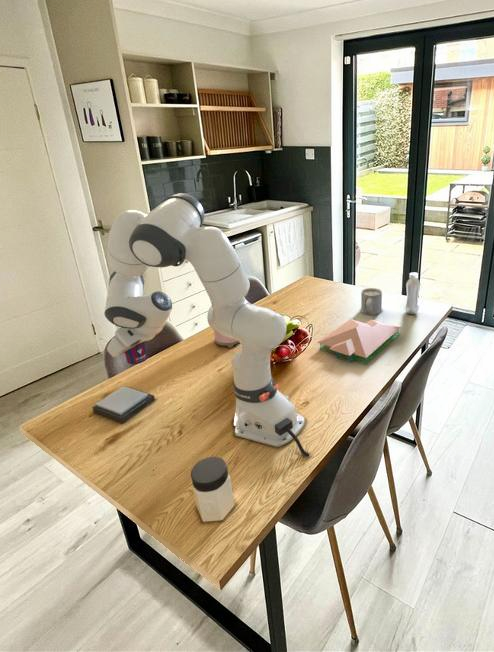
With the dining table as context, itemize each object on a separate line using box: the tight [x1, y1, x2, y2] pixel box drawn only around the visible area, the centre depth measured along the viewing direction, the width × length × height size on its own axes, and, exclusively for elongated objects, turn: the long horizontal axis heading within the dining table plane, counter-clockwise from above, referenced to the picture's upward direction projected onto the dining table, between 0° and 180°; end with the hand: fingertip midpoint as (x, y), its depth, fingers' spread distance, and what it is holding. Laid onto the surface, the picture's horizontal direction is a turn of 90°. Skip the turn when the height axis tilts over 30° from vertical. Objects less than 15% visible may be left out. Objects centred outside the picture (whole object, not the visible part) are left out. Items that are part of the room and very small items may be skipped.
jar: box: [190, 456, 236, 523], centre depth 93 cm, size 9×8×12 cm
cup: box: [124, 341, 149, 365], centre depth 138 cm, size 7×10×7 cm
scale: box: [91, 385, 156, 424], centre depth 133 cm, size 14×13×3 cm
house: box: [317, 318, 401, 365], centre depth 166 cm, size 23×33×8 cm
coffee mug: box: [360, 287, 383, 315], centre depth 195 cm, size 13×10×10 cm
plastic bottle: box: [404, 272, 421, 315], centre depth 190 cm, size 6×7×20 cm
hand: (130, 347), depth 138 cm, fingers closed on cup, 6 cm apart
